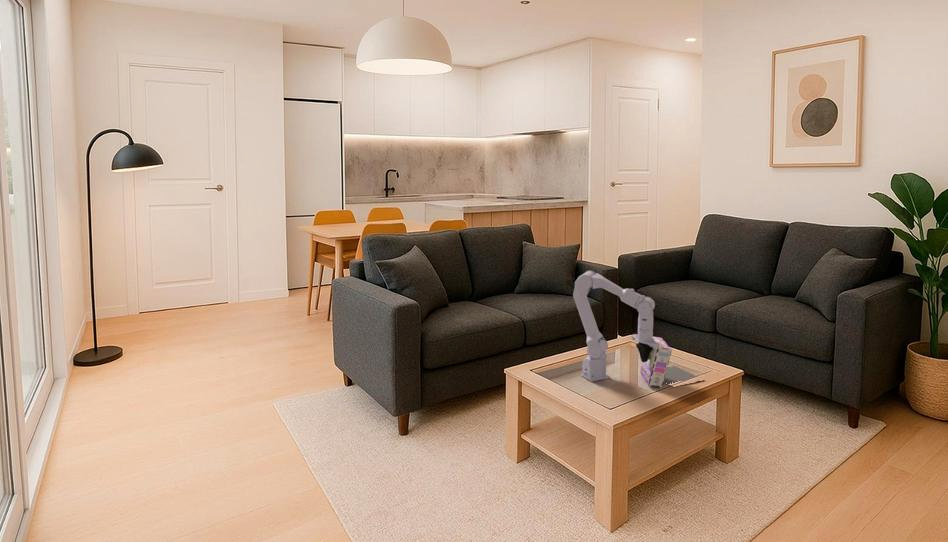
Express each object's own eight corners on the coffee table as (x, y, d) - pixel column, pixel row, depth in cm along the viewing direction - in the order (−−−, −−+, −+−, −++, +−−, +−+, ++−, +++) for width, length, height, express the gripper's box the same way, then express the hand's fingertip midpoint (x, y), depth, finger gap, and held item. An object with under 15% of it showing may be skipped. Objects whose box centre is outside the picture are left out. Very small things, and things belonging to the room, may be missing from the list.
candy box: (662, 388, 237) (672, 349, 233) (647, 385, 237) (657, 347, 233) (653, 374, 250) (662, 337, 246) (639, 371, 250) (648, 334, 246)
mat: (673, 387, 237) (673, 386, 237) (644, 372, 253) (644, 371, 253) (705, 380, 243) (705, 379, 243) (674, 366, 259) (674, 365, 259)
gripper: (666, 331, 232) (664, 365, 235) (642, 322, 245) (641, 354, 248) (651, 334, 229) (649, 368, 232) (627, 324, 243) (626, 356, 245)
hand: (644, 361), depth 240 cm, fingers closed
